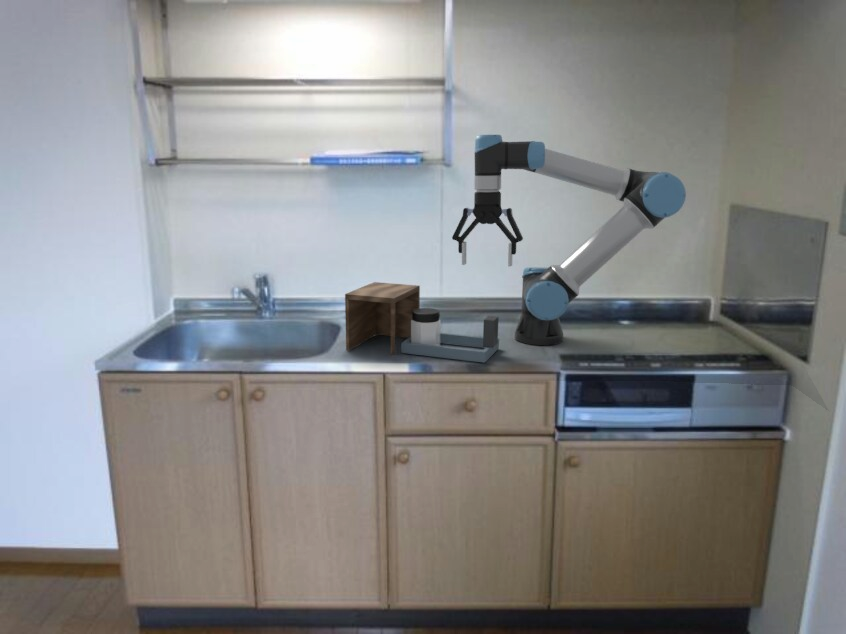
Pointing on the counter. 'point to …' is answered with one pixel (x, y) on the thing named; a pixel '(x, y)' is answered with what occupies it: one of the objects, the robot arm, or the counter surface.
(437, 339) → the jar
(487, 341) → the tray
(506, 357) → the counter surface
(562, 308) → the robot arm
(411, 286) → the open box
